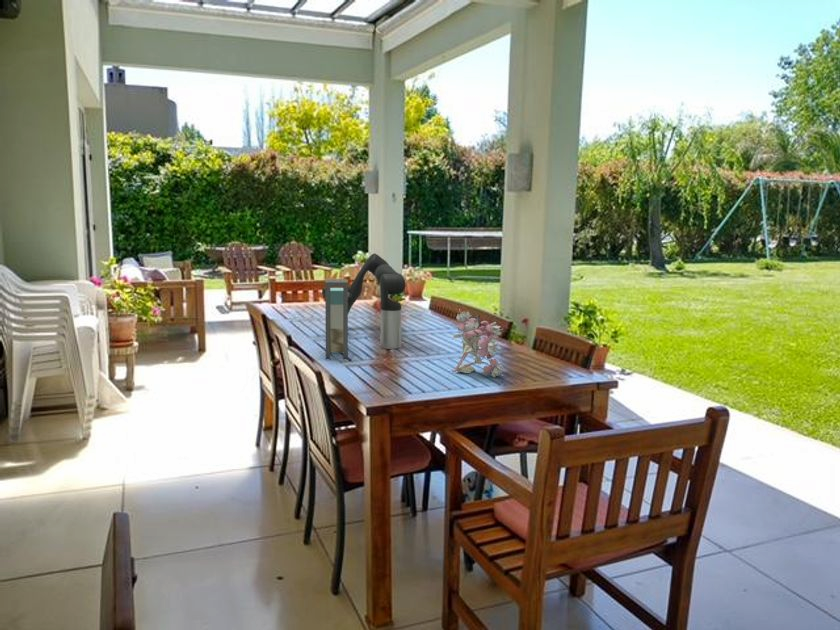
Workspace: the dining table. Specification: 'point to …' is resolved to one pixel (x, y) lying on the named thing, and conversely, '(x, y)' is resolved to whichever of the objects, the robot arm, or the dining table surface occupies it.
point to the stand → (329, 284)
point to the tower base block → (336, 340)
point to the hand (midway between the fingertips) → (337, 287)
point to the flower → (485, 344)
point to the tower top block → (336, 316)
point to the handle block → (336, 296)
